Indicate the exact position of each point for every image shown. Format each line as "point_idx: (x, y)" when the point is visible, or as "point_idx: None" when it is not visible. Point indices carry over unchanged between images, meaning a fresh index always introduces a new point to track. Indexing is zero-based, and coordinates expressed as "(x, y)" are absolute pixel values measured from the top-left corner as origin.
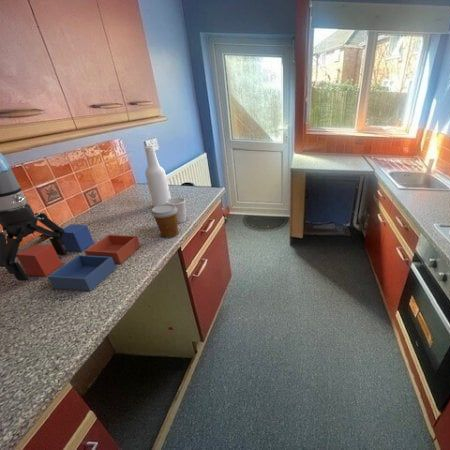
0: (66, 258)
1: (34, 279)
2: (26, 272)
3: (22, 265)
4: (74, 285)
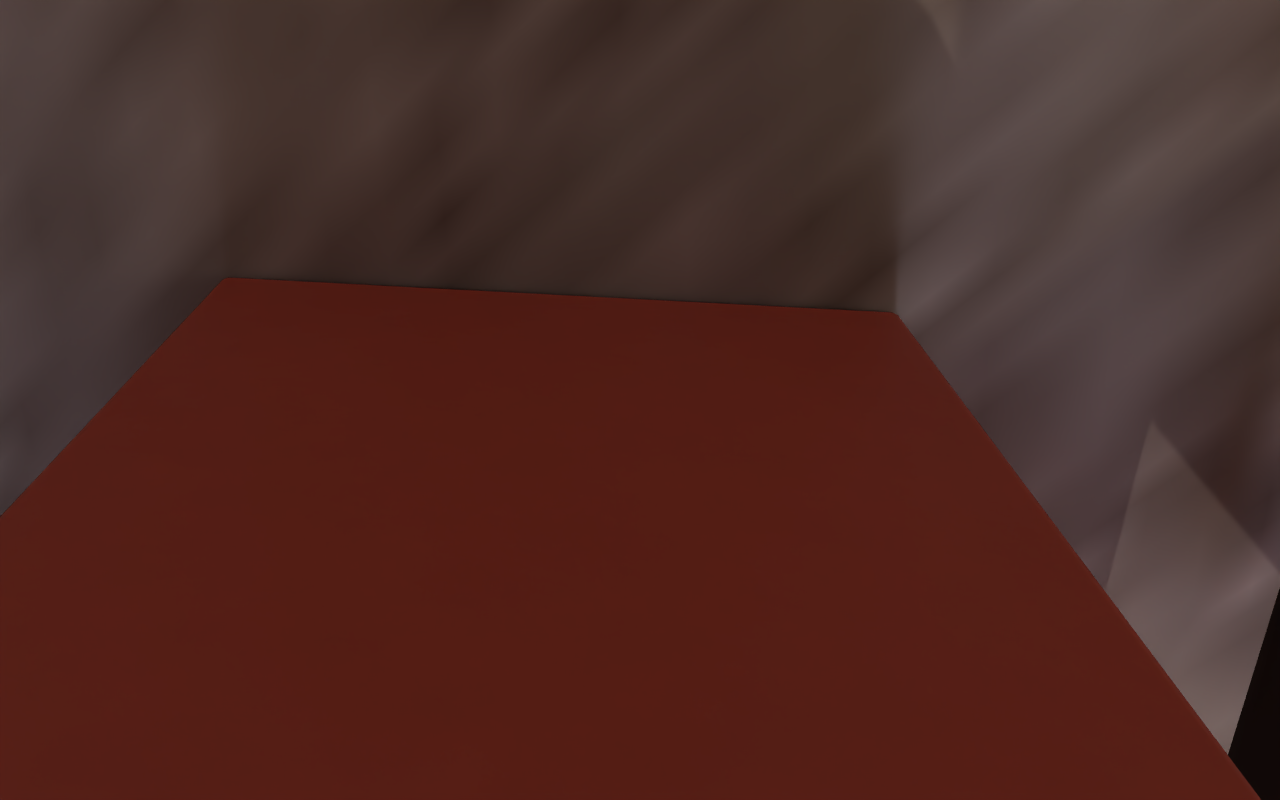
0: None
1: None
2: (187, 325)
3: (46, 492)
4: None
